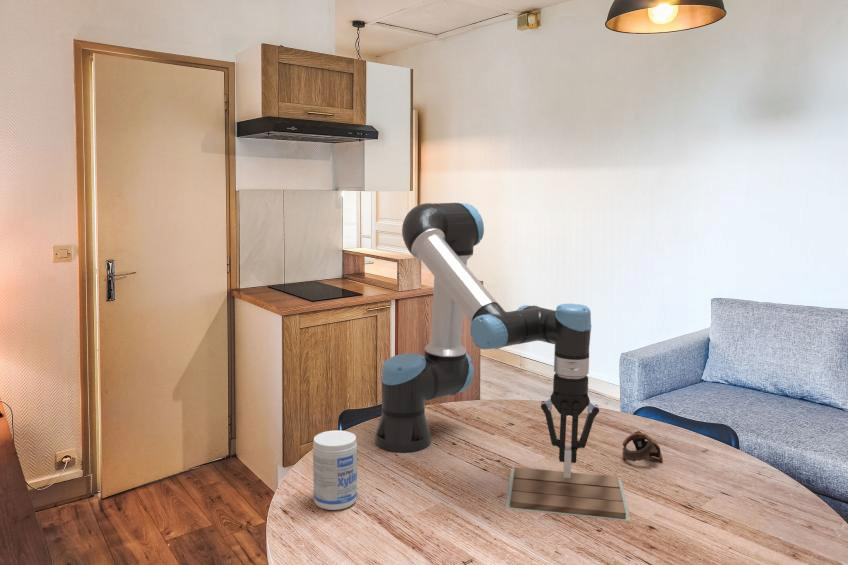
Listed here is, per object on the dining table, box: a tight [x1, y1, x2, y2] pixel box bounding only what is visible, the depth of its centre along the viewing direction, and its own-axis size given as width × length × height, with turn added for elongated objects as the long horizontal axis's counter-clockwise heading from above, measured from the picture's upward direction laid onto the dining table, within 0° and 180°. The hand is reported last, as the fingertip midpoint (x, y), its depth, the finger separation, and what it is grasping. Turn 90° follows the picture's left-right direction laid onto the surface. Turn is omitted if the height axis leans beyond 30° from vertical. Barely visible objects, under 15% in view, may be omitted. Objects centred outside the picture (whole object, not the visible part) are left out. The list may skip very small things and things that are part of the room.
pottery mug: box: [621, 430, 663, 463], centre depth 165 cm, size 12×10×8 cm
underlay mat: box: [505, 469, 632, 522], centre depth 146 cm, size 26×20×1 cm
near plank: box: [512, 479, 623, 502], centre depth 145 cm, size 24×6×1 cm, turn 79°
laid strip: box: [510, 491, 626, 518], centre depth 139 cm, size 24×5×1 cm, turn 79°
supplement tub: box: [312, 429, 358, 511], centre depth 141 cm, size 10×10×15 cm
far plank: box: [513, 466, 620, 489], centre depth 151 cm, size 24×6×1 cm, turn 79°
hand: (566, 475), depth 146 cm, fingers closed
